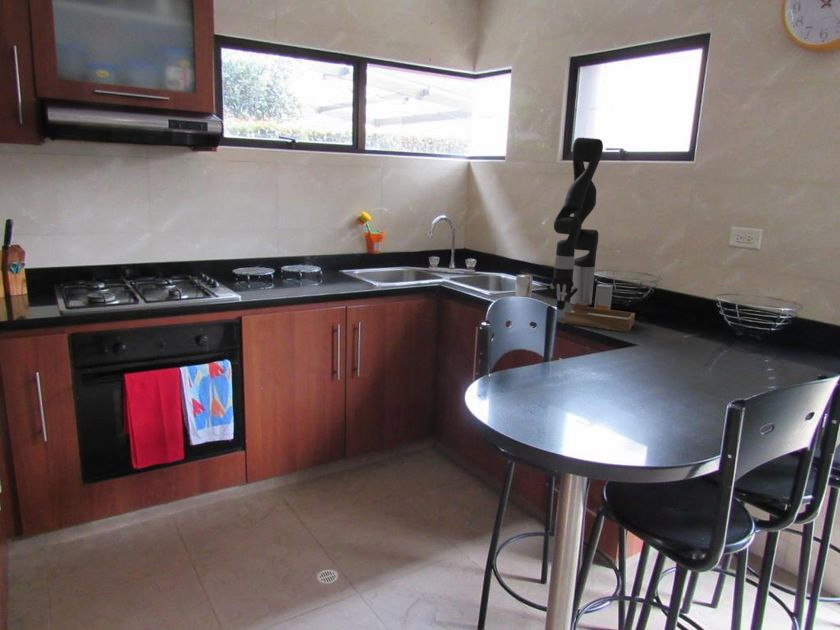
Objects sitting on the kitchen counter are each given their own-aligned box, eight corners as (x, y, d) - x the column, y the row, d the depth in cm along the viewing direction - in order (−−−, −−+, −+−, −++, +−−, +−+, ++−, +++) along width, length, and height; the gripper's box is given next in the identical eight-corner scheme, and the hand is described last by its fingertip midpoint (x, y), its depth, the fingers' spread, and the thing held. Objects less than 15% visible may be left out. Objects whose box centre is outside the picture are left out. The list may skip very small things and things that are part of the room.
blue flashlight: (512, 312, 254) (515, 276, 251) (514, 308, 261) (516, 273, 257) (529, 313, 253) (532, 277, 249) (531, 310, 259) (533, 275, 256)
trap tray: (572, 316, 250) (573, 305, 249) (633, 324, 240) (635, 312, 239) (563, 323, 237) (564, 312, 236) (628, 331, 227) (629, 320, 226)
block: (576, 311, 247) (576, 302, 246) (587, 313, 245) (588, 303, 244) (573, 313, 243) (574, 303, 242) (585, 315, 241) (586, 305, 241)
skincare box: (593, 313, 257) (596, 285, 254) (595, 311, 260) (598, 283, 258) (608, 315, 254) (611, 286, 251) (610, 313, 258) (613, 285, 255)
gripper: (582, 267, 244) (579, 309, 248) (550, 264, 250) (546, 305, 254) (578, 269, 237) (574, 313, 241) (545, 266, 243) (541, 309, 247)
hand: (560, 309), depth 247 cm, fingers closed
